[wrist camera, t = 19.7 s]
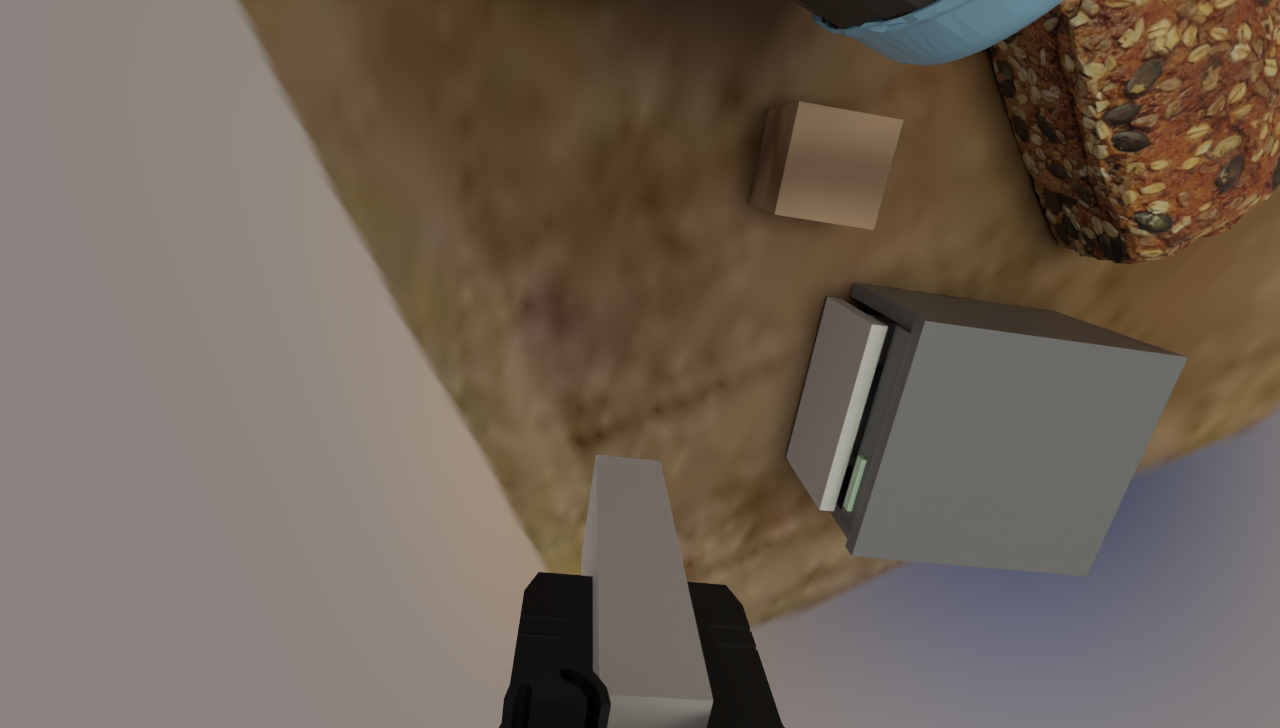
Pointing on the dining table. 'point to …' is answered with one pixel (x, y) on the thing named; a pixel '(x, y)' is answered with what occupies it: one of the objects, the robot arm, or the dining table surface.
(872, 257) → the dining table surface
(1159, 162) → the bread
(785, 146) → the riser cube
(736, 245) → the dining table surface
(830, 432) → the grey drawer
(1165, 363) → the grey drawer cabinet
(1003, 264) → the dining table surface
